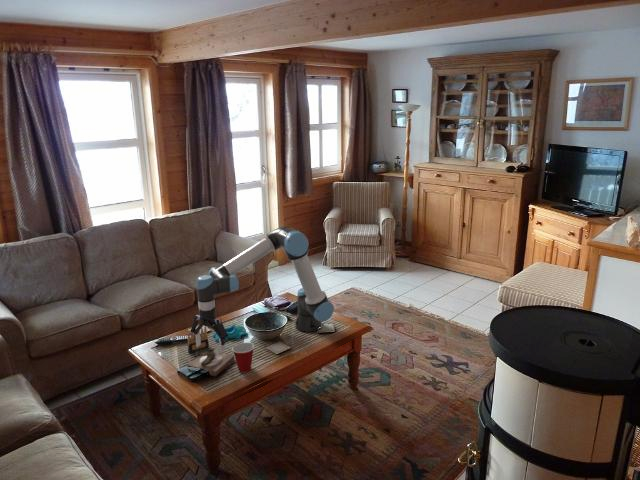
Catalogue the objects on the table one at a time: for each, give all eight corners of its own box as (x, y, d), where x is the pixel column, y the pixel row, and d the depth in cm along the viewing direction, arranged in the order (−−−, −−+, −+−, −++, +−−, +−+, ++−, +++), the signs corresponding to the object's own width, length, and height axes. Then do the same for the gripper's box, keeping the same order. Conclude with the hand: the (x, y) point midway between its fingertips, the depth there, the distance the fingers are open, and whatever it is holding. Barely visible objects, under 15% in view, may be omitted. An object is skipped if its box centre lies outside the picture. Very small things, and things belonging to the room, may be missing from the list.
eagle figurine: (206, 352, 239) (193, 357, 231) (213, 342, 236) (200, 347, 228) (216, 363, 236) (203, 368, 228) (223, 353, 234) (210, 358, 226)
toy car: (248, 337, 263) (248, 326, 261) (216, 344, 256) (215, 333, 254) (243, 329, 272) (242, 318, 271) (211, 335, 265) (210, 324, 264)
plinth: (234, 360, 239) (234, 354, 238) (215, 376, 225) (215, 370, 224) (207, 354, 245) (207, 348, 244) (187, 369, 231) (187, 364, 230)
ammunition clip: (189, 353, 246) (187, 332, 243) (188, 352, 248) (186, 330, 244) (209, 347, 252) (207, 326, 248) (207, 346, 253) (206, 325, 250)
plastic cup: (248, 360, 238) (247, 339, 235) (260, 369, 230) (258, 347, 227) (229, 368, 232) (227, 345, 229) (240, 377, 224) (238, 354, 220)
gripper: (233, 308, 226) (236, 349, 231) (190, 301, 235) (193, 340, 241) (224, 315, 219) (227, 356, 225) (180, 306, 228) (184, 347, 234)
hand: (210, 348), depth 233 cm, fingers open, 13 cm apart
